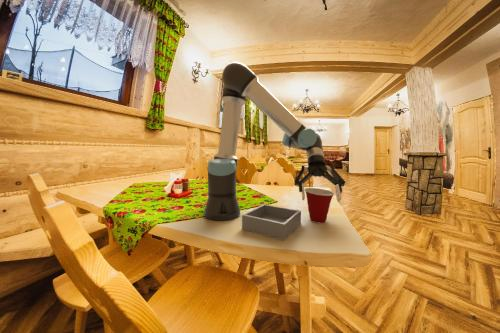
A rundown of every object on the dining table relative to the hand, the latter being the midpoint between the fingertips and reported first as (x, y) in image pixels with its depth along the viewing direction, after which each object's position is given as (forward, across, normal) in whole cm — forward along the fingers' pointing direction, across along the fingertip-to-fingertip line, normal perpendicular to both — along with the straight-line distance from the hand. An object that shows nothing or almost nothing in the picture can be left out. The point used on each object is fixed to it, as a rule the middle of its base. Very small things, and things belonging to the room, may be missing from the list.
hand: (321, 199), depth 74 cm
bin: (+13, +19, +3) cm, 23 cm away
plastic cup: (+7, +1, -4) cm, 8 cm away
